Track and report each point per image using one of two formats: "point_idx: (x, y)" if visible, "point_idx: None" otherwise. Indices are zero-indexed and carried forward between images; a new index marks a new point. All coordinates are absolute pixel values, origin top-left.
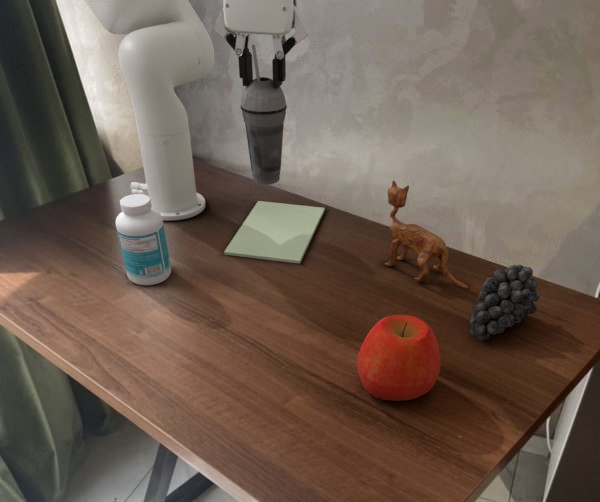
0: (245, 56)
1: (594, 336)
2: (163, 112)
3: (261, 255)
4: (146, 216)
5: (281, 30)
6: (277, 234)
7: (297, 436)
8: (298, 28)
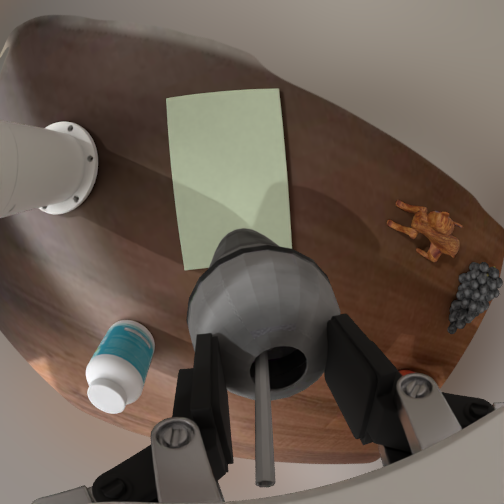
0: (226, 464)
1: (499, 276)
2: None
3: None
4: (127, 395)
5: None
6: (237, 196)
7: (337, 438)
8: None
